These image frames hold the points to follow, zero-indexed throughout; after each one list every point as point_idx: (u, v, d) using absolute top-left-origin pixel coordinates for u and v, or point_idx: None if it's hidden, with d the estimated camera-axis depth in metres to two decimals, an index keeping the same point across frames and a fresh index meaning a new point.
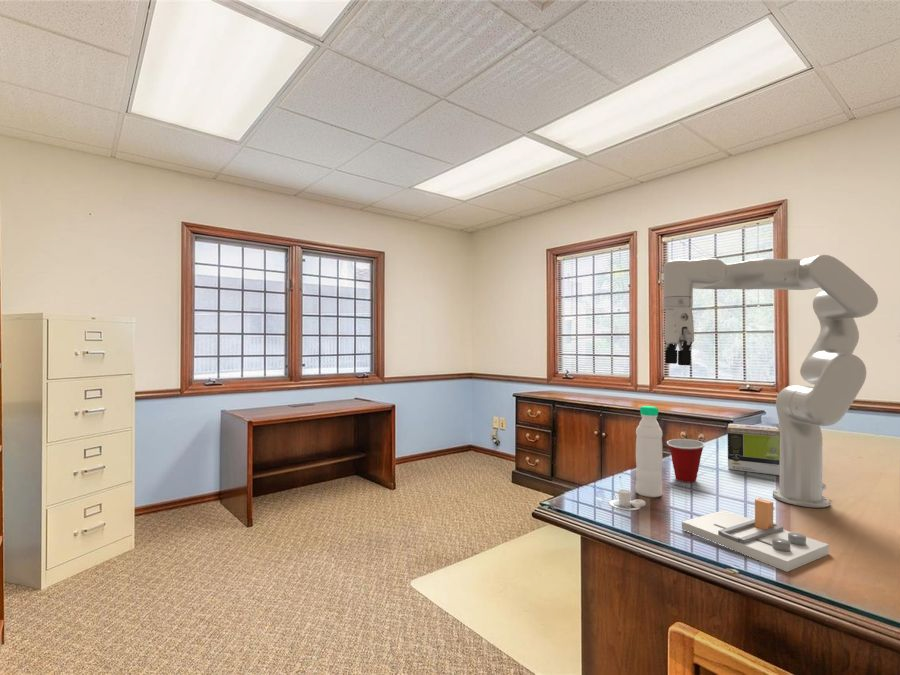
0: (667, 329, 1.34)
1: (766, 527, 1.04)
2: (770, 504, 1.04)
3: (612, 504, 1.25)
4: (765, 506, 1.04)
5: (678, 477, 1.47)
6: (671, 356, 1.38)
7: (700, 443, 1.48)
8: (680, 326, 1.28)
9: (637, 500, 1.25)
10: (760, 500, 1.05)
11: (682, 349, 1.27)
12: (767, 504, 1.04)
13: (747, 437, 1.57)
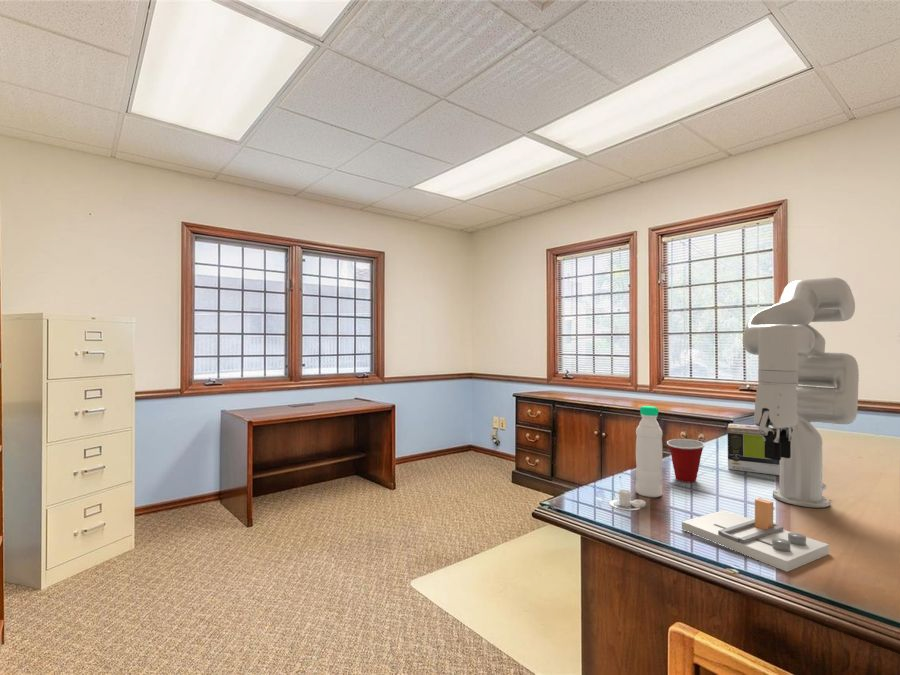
0: (786, 411, 1.05)
1: (766, 527, 1.04)
2: (770, 504, 1.04)
3: (612, 504, 1.25)
4: (765, 506, 1.04)
5: (678, 477, 1.47)
6: None
7: (700, 443, 1.48)
8: None
9: (637, 500, 1.25)
10: (760, 500, 1.05)
11: None
12: (767, 504, 1.04)
13: (747, 437, 1.57)
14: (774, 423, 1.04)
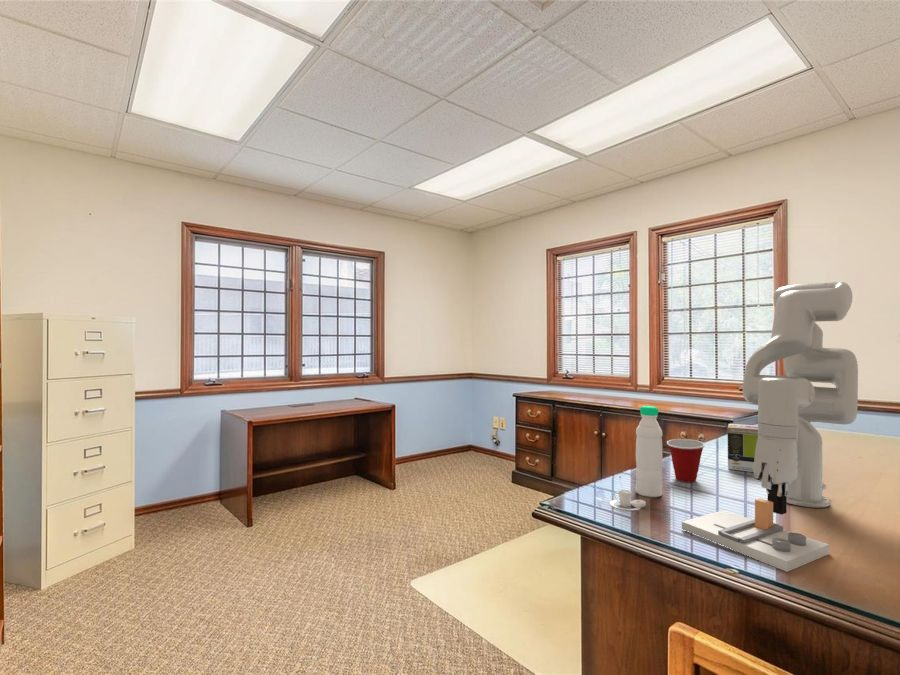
0: (786, 466, 1.05)
1: (766, 527, 1.04)
2: (770, 504, 1.04)
3: (612, 504, 1.25)
4: (765, 506, 1.04)
5: (678, 477, 1.47)
6: None
7: (700, 443, 1.48)
8: None
9: (637, 500, 1.25)
10: (760, 500, 1.05)
11: None
12: (767, 504, 1.04)
13: (747, 437, 1.57)
14: (773, 478, 1.04)
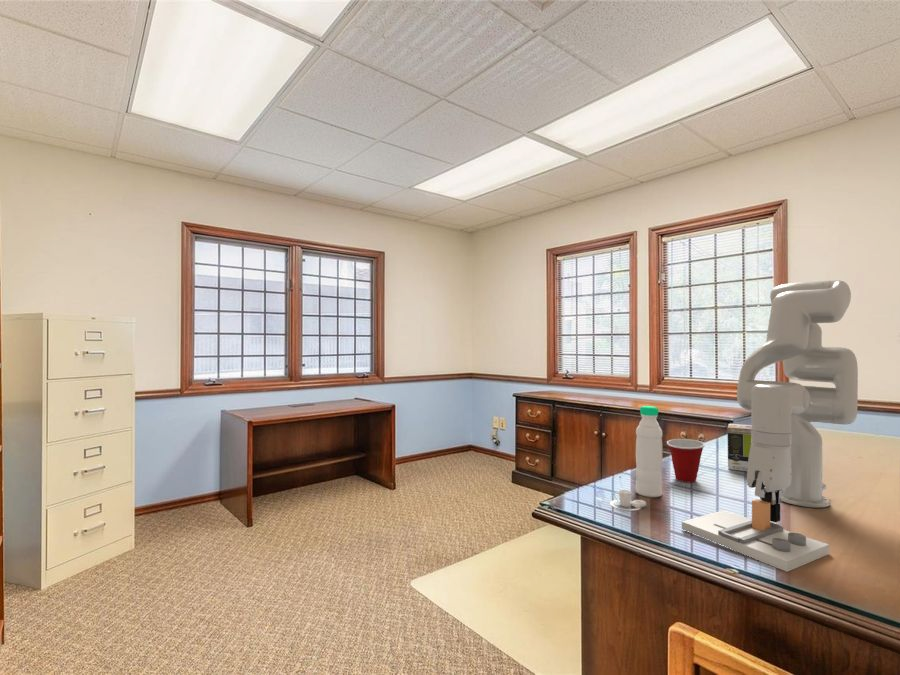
0: (779, 473, 1.04)
1: (763, 528, 1.03)
2: (767, 505, 1.03)
3: (612, 504, 1.25)
4: (762, 507, 1.03)
5: (678, 477, 1.47)
6: None
7: (700, 443, 1.48)
8: None
9: (638, 500, 1.25)
10: (757, 501, 1.05)
11: None
12: (764, 505, 1.03)
13: (747, 437, 1.57)
14: (767, 487, 1.02)
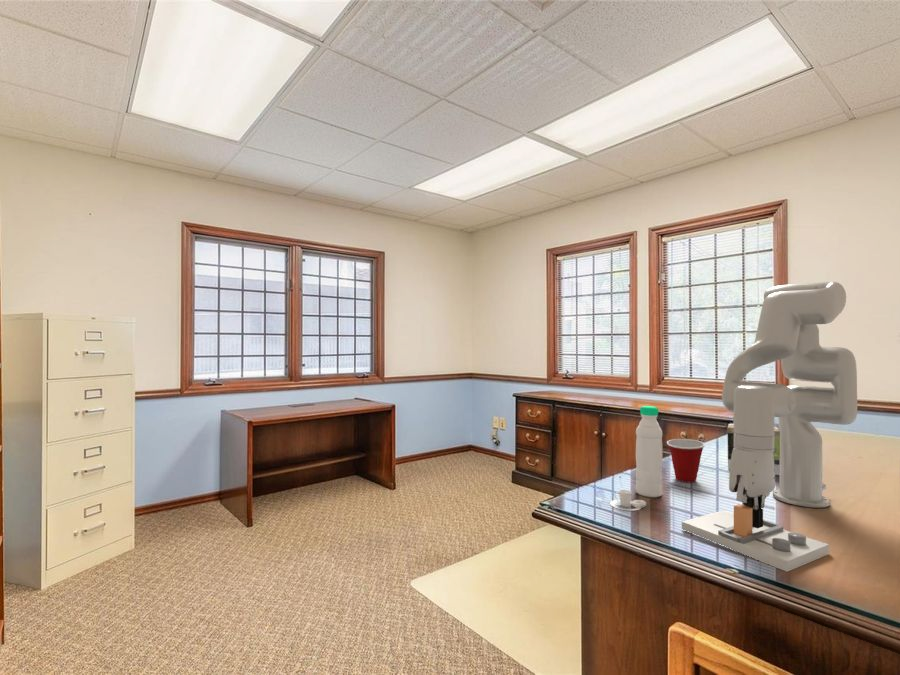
0: (762, 478, 1.00)
1: (745, 534, 1.00)
2: (749, 510, 1.00)
3: (613, 504, 1.25)
4: (744, 512, 1.00)
5: (678, 477, 1.47)
6: None
7: (700, 443, 1.48)
8: None
9: (638, 500, 1.25)
10: (739, 506, 1.01)
11: None
12: (746, 510, 1.00)
13: None
14: (749, 491, 0.99)
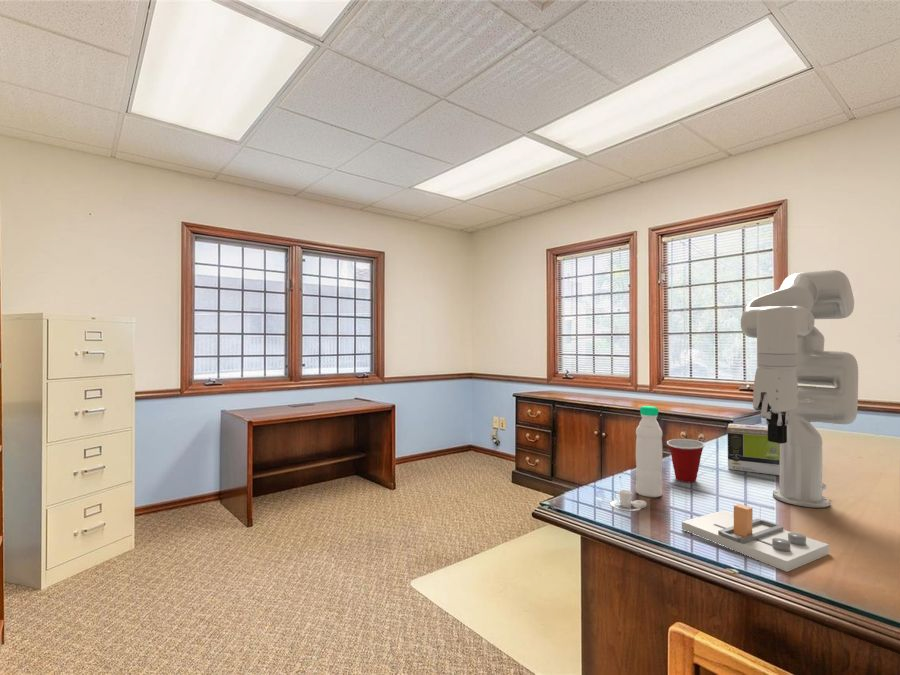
0: (785, 394, 1.03)
1: (745, 534, 1.00)
2: (749, 510, 1.00)
3: (613, 505, 1.25)
4: (744, 512, 1.00)
5: (678, 477, 1.47)
6: None
7: (700, 443, 1.48)
8: None
9: (638, 501, 1.25)
10: (739, 506, 1.01)
11: None
12: (746, 510, 1.00)
13: (747, 437, 1.57)
14: (773, 407, 1.02)
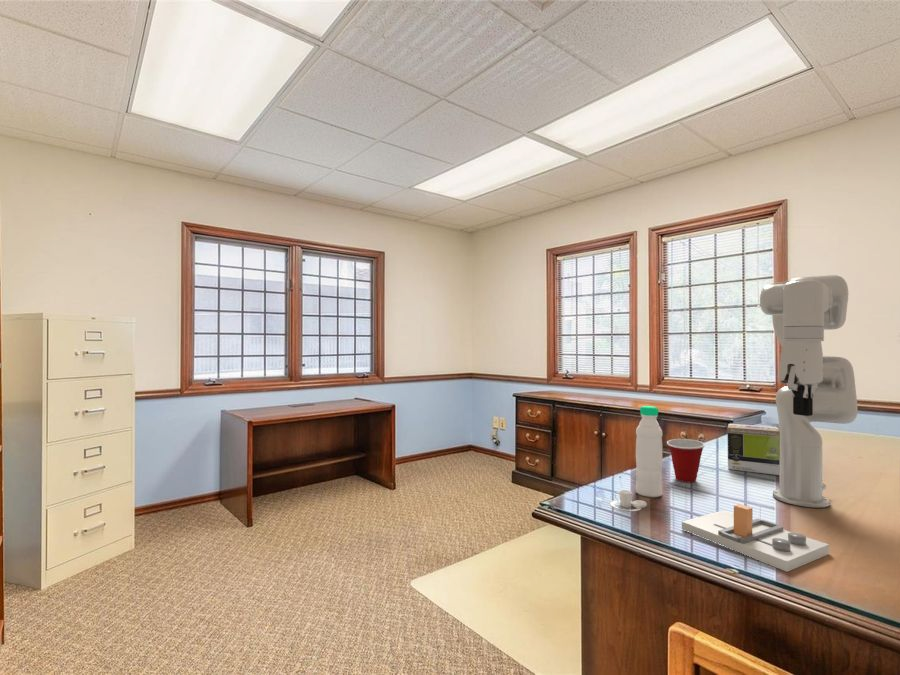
0: (812, 366, 1.05)
1: (745, 534, 1.00)
2: (749, 510, 1.00)
3: (613, 505, 1.25)
4: (744, 512, 1.00)
5: (678, 477, 1.47)
6: None
7: (700, 443, 1.48)
8: None
9: (638, 501, 1.25)
10: (739, 506, 1.01)
11: None
12: (746, 510, 1.00)
13: (747, 437, 1.57)
14: (800, 378, 1.03)
